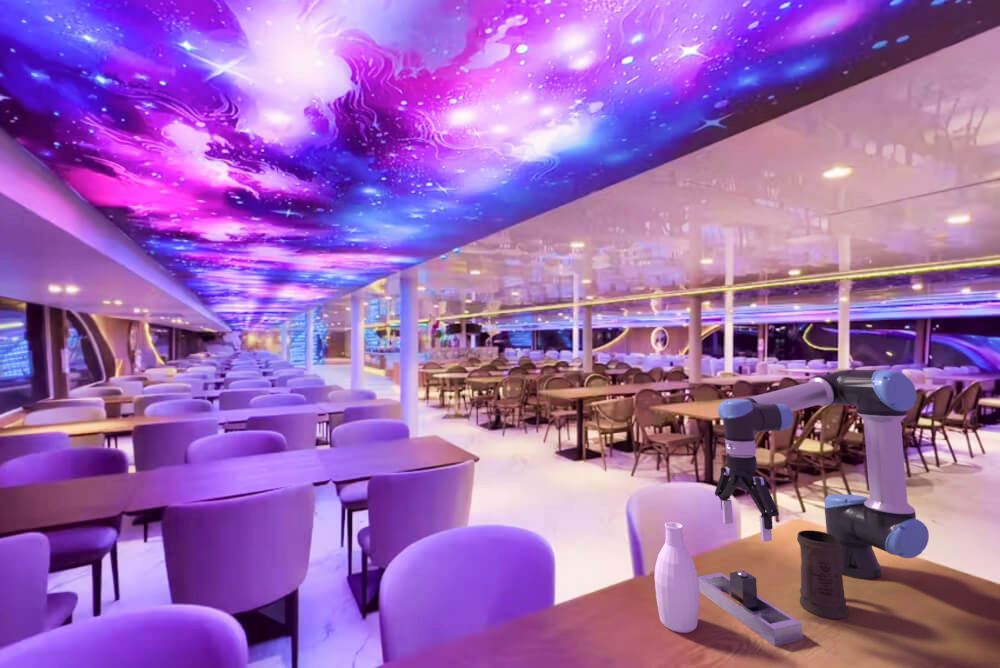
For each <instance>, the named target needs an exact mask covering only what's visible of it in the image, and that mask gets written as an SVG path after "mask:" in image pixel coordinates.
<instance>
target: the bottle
mask: <svg viewBox="0 0 1000 668" xmlns="http://www.w3.org/2000/svg"><path fill="white" fill-rule="evenodd" d="M664 527H665V543H664V544H663V546H662V548H661V550H660V551H659V553H658V555H657V559H656V561H655V566H654V567H655V568H654V586H655V597H656V604H657V611H658V614H659V620H660V622H661V623H662V625H663V626H664V627H665V628H667V629H668V630H670V631H672V632H676V633H679V634H686V633H687V634H688V633H692V632H694V631H695V630H696V629H697V626H698V622H699V613H700V612H699V611H700V610H699V609H700V592H699V581H698V576H699V575H698V573H697V572H698V571H697V568H696V565H695V562H694V560H693V557H692V556H691V554H690V552H689V551H688V549H687V546H686V545H685V543H684V534H683V528H684V526H683V525H682V524H681V523H679V522H674V521H671V522H670V521H668V522H666V523H664Z"/></svg>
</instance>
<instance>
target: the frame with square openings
mask: <svg viewBox="0 0 1000 668" xmlns="http://www.w3.org/2000/svg"><path fill="white" fill-rule="evenodd" d="M697 576H698V581H699V594H702V595H703V596H705V598H707V599H709V600H710V601H712V602H713V603H714V604H716V605H717V606H718V607H720V608H721V609H723V611H725V612H727V613H728V614H730V615H731V616H732V617H734V618H735V619H736V620H737V621H739V622H740V623H741V624H743V625H745V626H746V627H747V628H748V629H750V630H751V631H753V632H754V633H755V634H757V635H758V636H760V637H761V638H763V639H764V640H765V641H767V642H768V643H770V644H771V645H772V646H774V647H778V646H782V645H786V644H790V643H796V642H801V641H803V623H802V622H800V621H799V620H797V619H796V618H794V617H793V616H791V615H790V614H788V613H786V612H785V611H783V610H781V609H779V608H778V607H776V606H775V605H773V604H771V603H770V602H769V601H766V599H764V598H762V597H760V596H759V595H757V603H758V611H754V612H752V611H750V610H749V609H747V608H746V607H744V606H743V604H742V603H740V602H739V601H737V600H736V599H734V598H733V597H731V587H730V577H728V576H727V575H726V574H723V573H722V572H717V573H711V574H705V575H701V576H700V575H697ZM770 622H771V623H770Z"/></svg>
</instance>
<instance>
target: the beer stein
mask: <svg viewBox="0 0 1000 668" xmlns="http://www.w3.org/2000/svg"><path fill="white" fill-rule="evenodd" d="M797 543H798V544H799V548H800V562H801V564H800V578H801V579H800V583H801V584H800V589H799V592H800V596H799V604H800V606H801V607H802V608H803V609H804V610H805V611H807V612H809V613H811V614H813V615H815V616H818V617H821V618H823V619H824V618H825V619H832V620H837V619H839V620H840V619H844V618H846V617H848V615H849V612H848V608H847V606H846V605H847V599H846V597H845V589H844V580H843V574H842V566H841V559H840V552H841V544H840V540H839V538H837V537H836V536H834V535H831V534H829V533H827V532H824V531H819V530H807V529H806V530H800V531H798V533H797Z"/></svg>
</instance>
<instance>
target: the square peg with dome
mask: <svg viewBox="0 0 1000 668" xmlns="http://www.w3.org/2000/svg"><path fill="white" fill-rule="evenodd" d="M729 578H730V587H731V597H733V598H734V599H736V600H737V601H739V602H740V603H742V604H743V606H744V607H746V608H747V609H749V610H750V611H752V612H754V611H758V603H757V596H758V590H757V589H758V588H757V587H758V585H757V577H756V576H753V575H752V574H750V573H748V572H746V570H738V571H732V572H729Z"/></svg>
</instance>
